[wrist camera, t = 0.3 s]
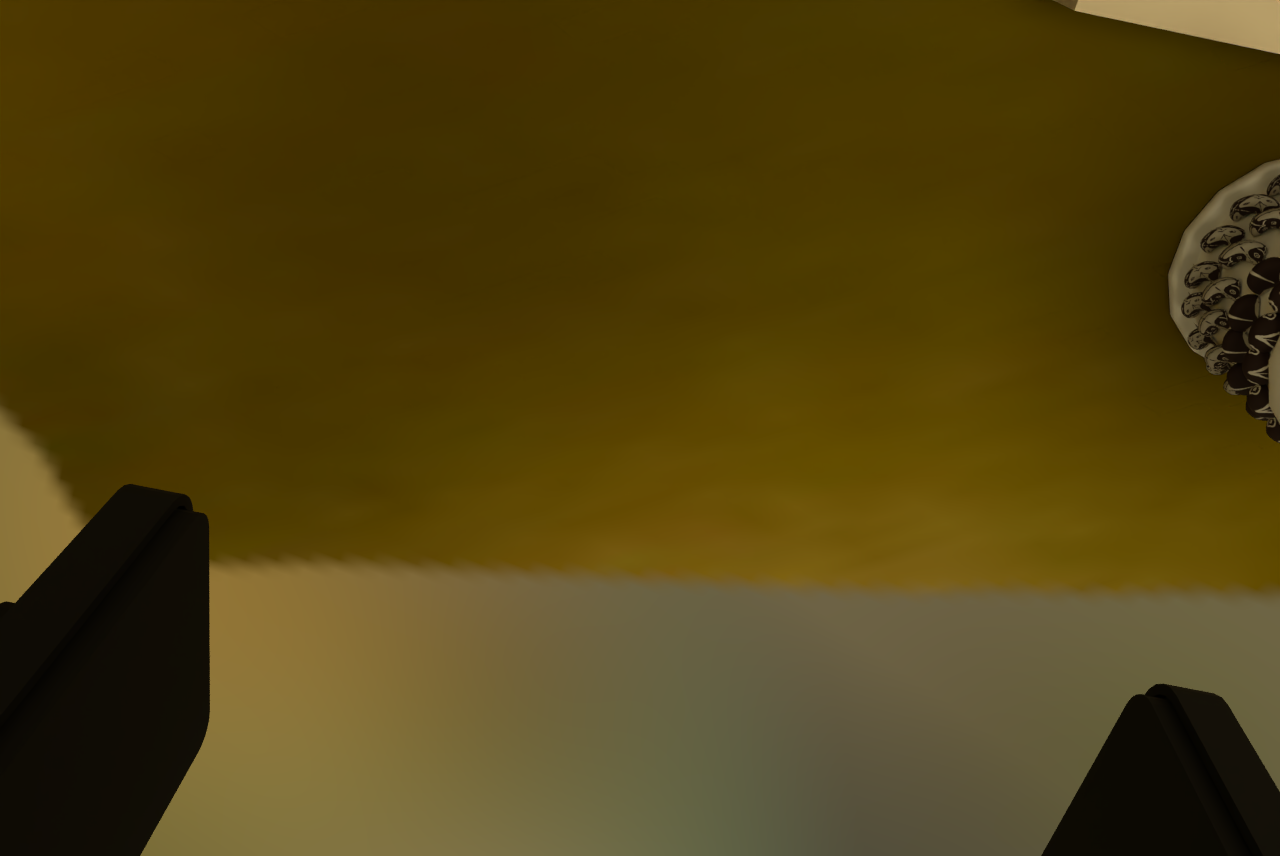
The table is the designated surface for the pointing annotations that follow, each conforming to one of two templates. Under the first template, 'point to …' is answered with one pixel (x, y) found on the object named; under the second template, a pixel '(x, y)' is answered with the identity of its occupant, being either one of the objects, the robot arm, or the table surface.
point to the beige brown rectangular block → (1197, 18)
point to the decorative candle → (1235, 289)
